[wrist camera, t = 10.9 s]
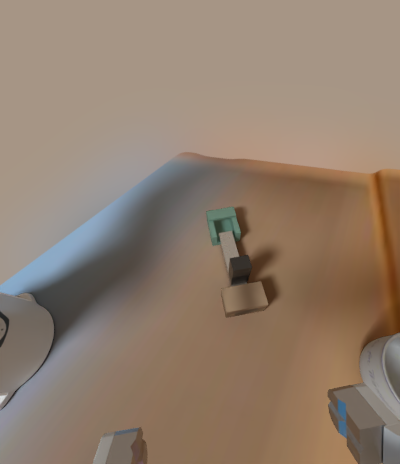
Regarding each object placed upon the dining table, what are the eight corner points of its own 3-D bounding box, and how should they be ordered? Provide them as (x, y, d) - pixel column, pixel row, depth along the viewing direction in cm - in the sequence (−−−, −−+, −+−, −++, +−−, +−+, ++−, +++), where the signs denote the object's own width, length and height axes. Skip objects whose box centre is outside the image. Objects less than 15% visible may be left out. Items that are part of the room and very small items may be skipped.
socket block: (225, 317, 39) (226, 312, 35) (221, 295, 41) (221, 288, 37) (263, 310, 39) (268, 304, 35) (257, 289, 41) (260, 281, 38)
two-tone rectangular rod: (235, 307, 39) (239, 293, 32) (218, 237, 47) (218, 213, 40) (251, 304, 39) (259, 289, 32) (231, 235, 47) (234, 210, 40)
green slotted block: (212, 245, 47) (212, 236, 44) (207, 220, 51) (206, 209, 48) (239, 240, 47) (241, 231, 44) (231, 215, 51) (232, 204, 48)
